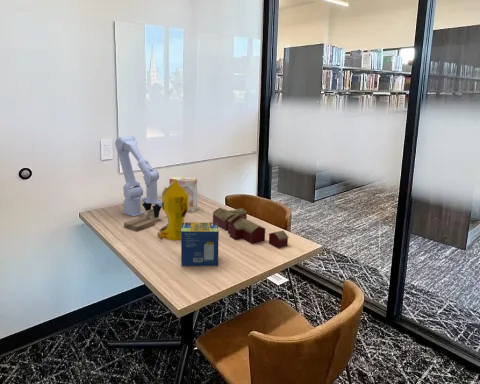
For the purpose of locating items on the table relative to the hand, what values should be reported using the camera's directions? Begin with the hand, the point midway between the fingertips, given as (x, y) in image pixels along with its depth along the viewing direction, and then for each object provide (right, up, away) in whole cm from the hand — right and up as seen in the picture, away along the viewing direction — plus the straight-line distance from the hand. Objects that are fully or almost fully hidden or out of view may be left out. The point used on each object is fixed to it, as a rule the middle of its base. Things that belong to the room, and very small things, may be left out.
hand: (152, 216), depth 203 cm
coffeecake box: (+14, +3, +18) cm, 23 cm away
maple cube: (0, -2, 0) cm, 2 cm away
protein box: (+31, -16, -47) cm, 59 cm away
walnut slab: (-4, -5, -11) cm, 13 cm away
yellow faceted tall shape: (+16, -8, -20) cm, 27 cm away
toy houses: (+53, -8, -17) cm, 56 cm away
